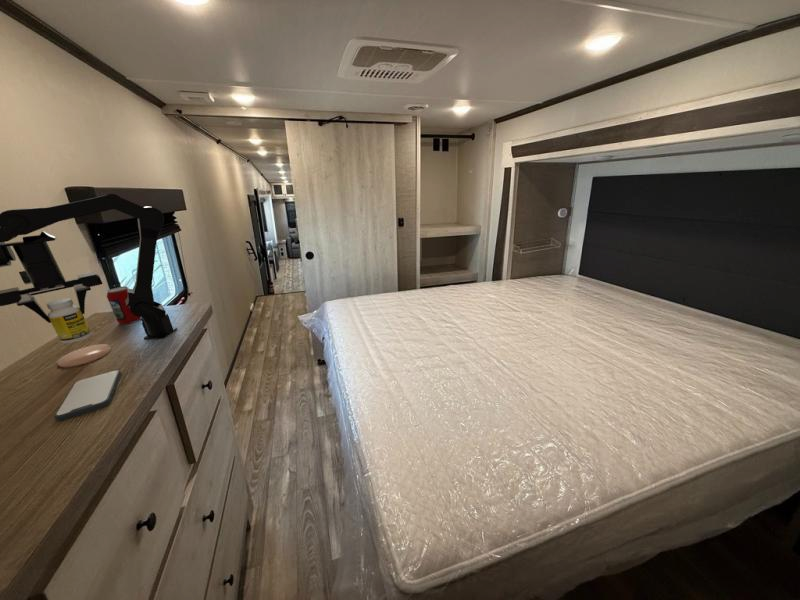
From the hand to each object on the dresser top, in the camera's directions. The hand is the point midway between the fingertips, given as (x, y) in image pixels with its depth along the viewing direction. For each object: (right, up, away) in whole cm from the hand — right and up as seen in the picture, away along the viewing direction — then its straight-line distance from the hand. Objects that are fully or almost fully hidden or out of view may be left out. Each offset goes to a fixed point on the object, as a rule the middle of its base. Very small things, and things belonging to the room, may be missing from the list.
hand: (67, 317), depth 84 cm
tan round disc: (+1, -11, +4) cm, 12 cm away
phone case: (+19, -17, -13) cm, 29 cm away
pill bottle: (0, -6, +2) cm, 6 cm away
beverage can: (-6, -3, +27) cm, 28 cm away
